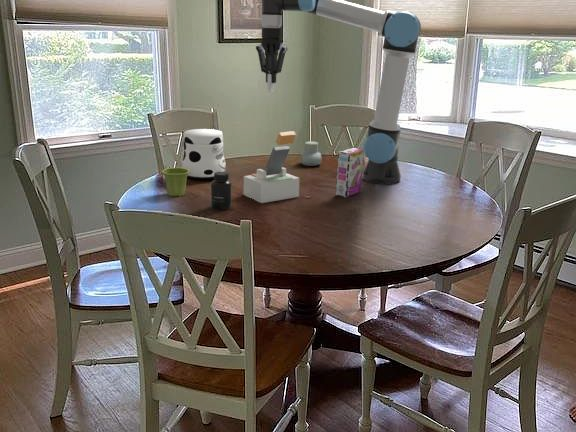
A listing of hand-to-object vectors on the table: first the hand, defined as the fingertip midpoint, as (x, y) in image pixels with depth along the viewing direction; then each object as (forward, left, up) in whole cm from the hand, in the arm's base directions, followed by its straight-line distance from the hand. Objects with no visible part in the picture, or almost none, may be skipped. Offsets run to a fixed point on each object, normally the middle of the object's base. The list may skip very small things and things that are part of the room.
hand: (270, 91), depth 228 cm
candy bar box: (-36, +2, -35) cm, 50 cm away
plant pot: (+15, +39, -35) cm, 54 cm away
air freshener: (-2, -31, -35) cm, 47 cm away
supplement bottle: (-8, +43, -35) cm, 56 cm away
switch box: (-14, +21, -34) cm, 43 cm away
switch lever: (-14, +21, -26) cm, 36 cm away
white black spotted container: (+23, +13, -35) cm, 44 cm away
